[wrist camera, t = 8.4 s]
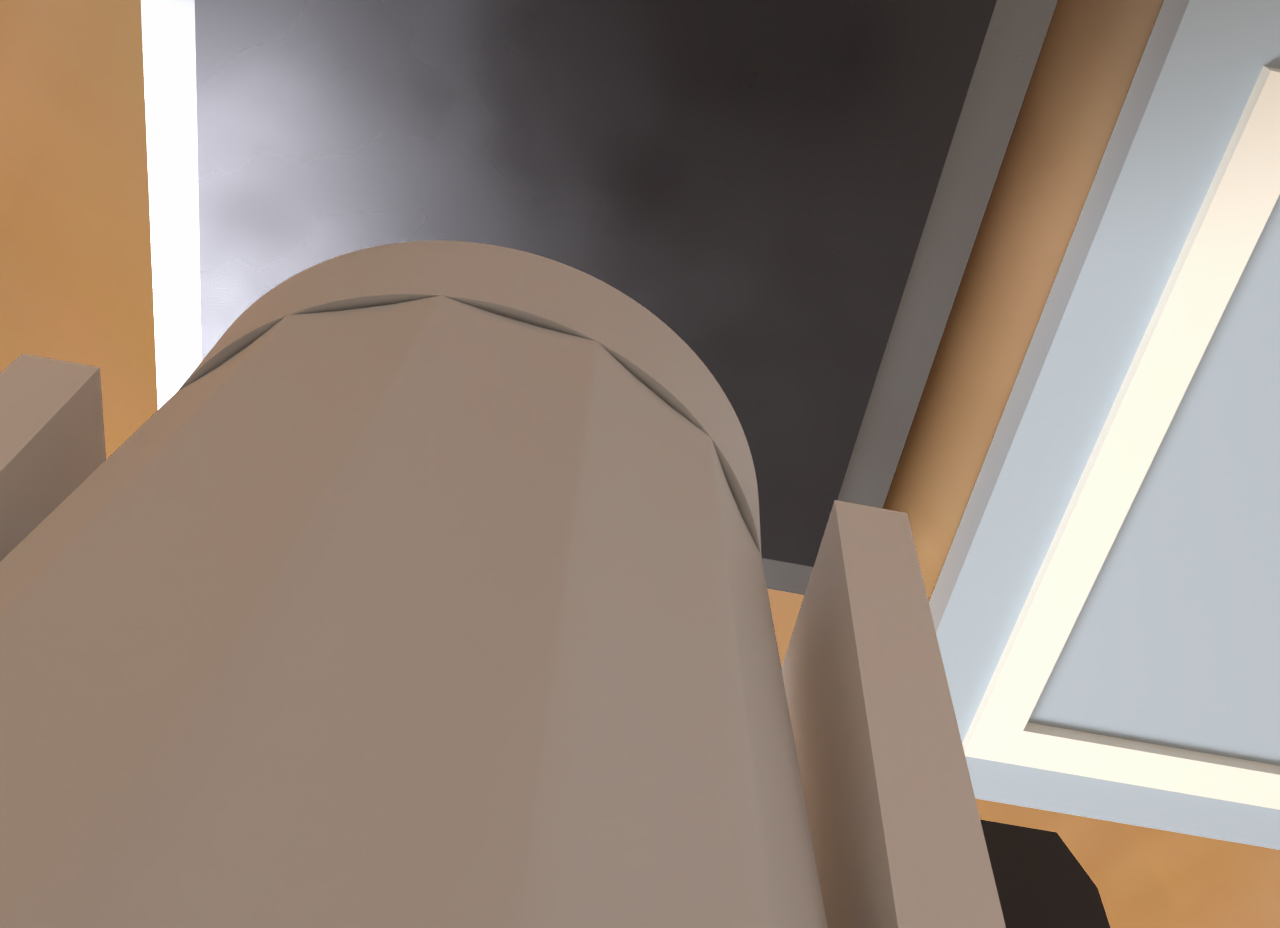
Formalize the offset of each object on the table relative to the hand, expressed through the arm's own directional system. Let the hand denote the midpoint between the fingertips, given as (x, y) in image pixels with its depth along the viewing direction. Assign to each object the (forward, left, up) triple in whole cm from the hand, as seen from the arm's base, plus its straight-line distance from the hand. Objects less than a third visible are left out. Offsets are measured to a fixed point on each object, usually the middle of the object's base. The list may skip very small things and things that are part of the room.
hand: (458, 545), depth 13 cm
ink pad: (0, 0, -11) cm, 11 cm away
